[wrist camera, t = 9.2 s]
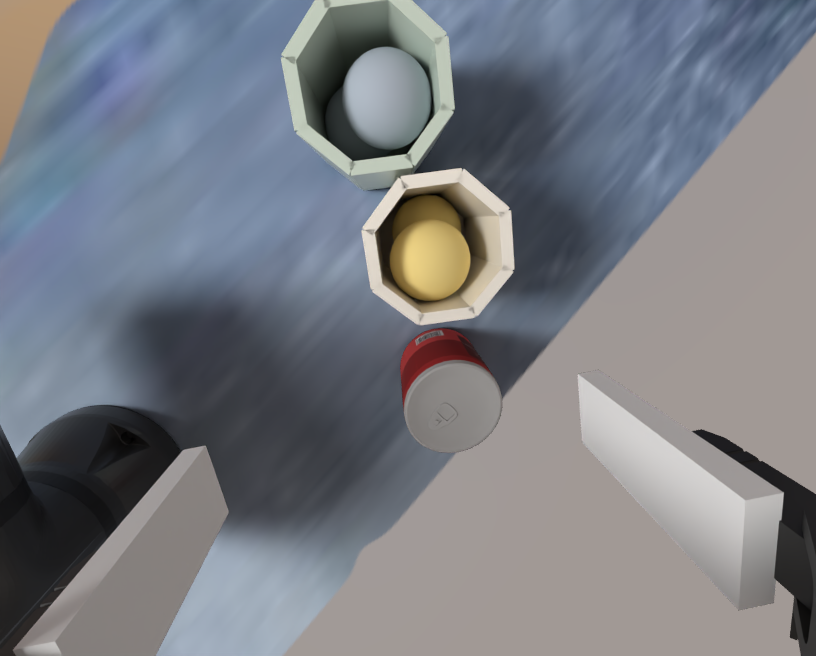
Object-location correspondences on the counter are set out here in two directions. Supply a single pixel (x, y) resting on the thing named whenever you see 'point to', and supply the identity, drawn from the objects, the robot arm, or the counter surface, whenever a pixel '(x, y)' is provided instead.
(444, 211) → the cream ball
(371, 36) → the crock sage
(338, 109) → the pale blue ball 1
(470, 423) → the canned food
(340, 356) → the counter surface
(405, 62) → the blue-grey ball
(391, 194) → the crock cream
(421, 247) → the ball loose
